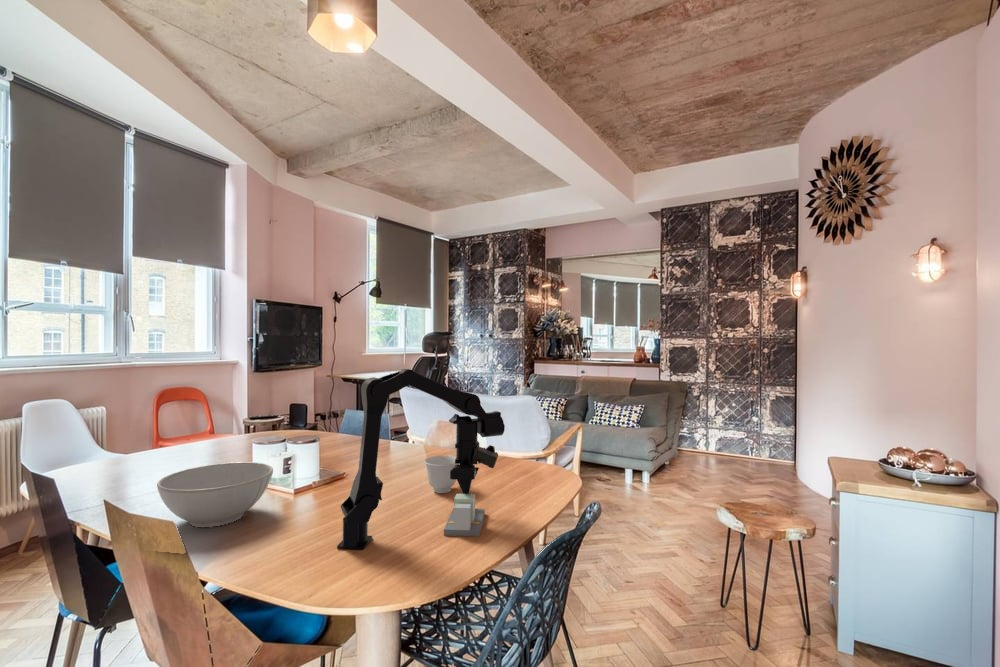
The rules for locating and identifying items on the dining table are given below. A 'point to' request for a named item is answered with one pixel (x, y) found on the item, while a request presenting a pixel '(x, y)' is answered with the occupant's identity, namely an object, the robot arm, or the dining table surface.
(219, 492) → the decorative bowl
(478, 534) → the board
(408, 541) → the dining table surface
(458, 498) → the sleeve
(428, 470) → the teacup
